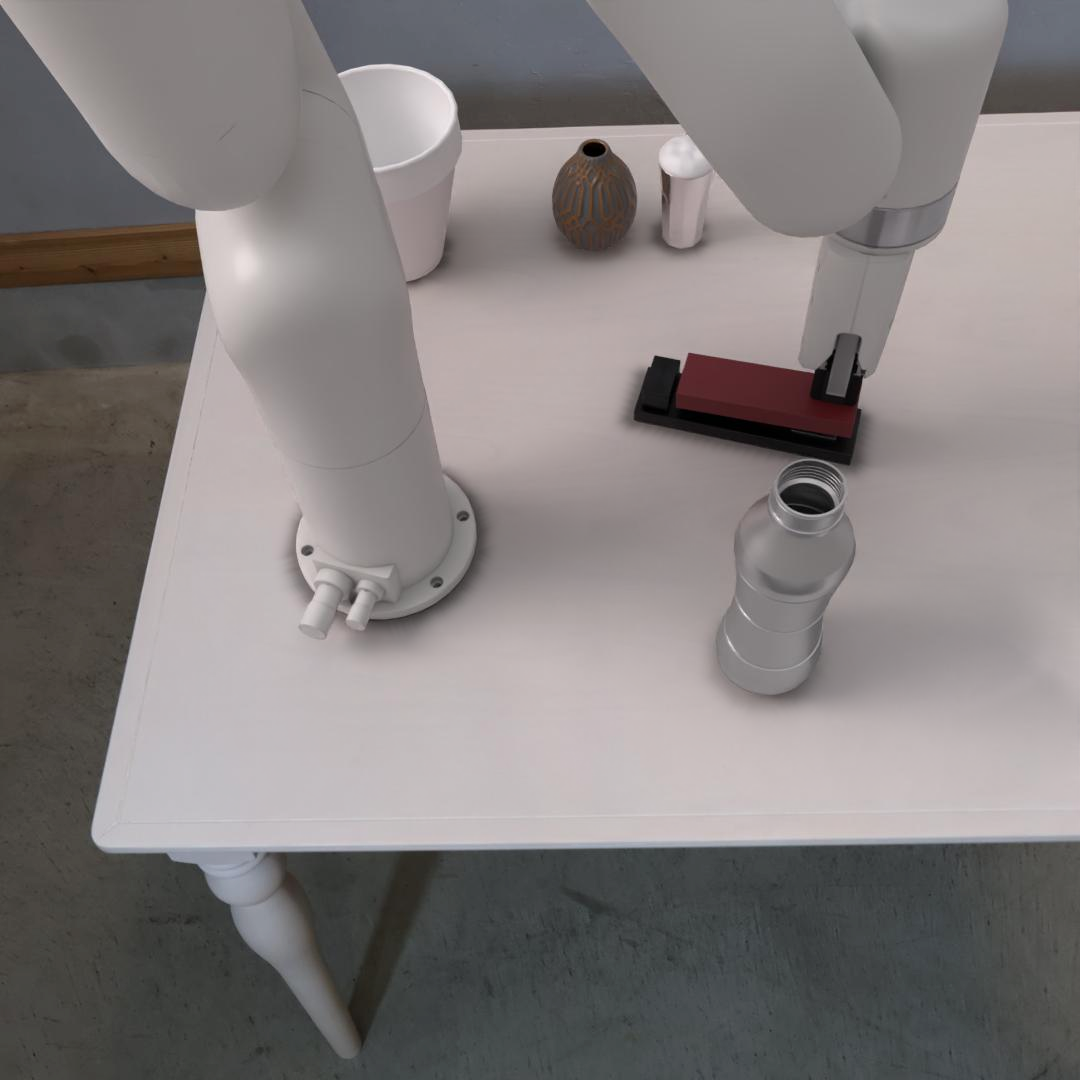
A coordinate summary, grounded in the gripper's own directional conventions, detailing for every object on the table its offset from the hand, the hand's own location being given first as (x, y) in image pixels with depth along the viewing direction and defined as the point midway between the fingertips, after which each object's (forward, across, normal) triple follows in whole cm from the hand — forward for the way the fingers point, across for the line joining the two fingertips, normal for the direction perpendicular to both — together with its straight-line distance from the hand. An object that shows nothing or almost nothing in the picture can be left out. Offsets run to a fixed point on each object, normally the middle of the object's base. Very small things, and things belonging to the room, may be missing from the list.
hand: (833, 393), depth 79 cm
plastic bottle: (+4, +19, -1) cm, 20 cm away
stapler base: (+4, 0, -6) cm, 7 cm away
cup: (+4, -10, -37) cm, 38 cm away
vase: (+4, -16, -22) cm, 27 cm away
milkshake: (+5, -18, -15) cm, 23 cm away
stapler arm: (+2, 0, -4) cm, 5 cm away
